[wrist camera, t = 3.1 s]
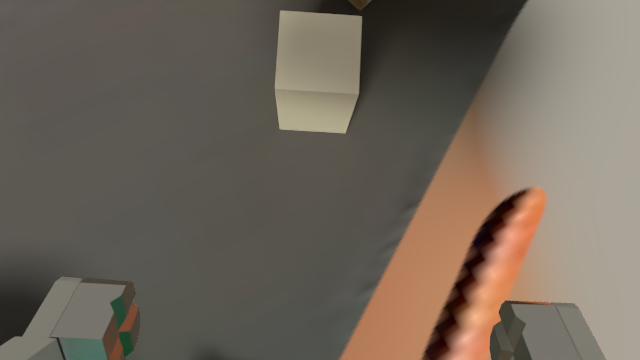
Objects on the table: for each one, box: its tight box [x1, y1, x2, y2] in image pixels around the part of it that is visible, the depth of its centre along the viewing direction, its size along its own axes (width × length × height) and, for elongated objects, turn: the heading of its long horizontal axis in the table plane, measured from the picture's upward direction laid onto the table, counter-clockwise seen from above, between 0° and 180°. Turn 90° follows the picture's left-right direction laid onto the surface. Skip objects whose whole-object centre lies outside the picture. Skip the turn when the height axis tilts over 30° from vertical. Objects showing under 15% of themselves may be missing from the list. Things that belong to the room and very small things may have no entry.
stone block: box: [275, 10, 362, 133], centre depth 32 cm, size 4×4×8 cm
